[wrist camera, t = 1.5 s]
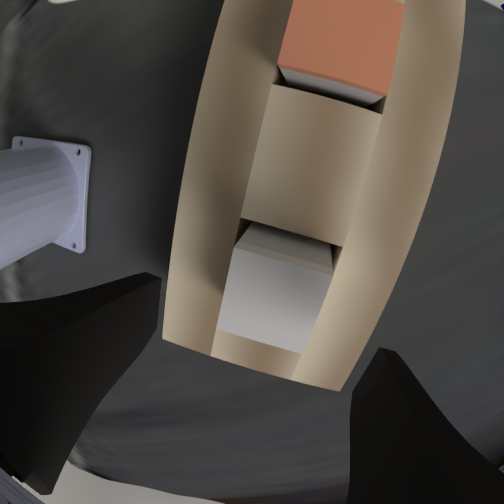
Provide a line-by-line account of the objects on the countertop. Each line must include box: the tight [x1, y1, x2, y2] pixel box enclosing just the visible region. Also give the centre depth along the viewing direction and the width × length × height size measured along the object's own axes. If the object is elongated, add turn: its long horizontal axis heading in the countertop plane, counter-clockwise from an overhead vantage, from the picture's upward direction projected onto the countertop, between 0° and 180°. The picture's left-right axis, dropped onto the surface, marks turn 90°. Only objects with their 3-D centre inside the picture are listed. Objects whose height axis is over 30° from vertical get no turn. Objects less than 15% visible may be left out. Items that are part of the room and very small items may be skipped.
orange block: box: [277, 0, 405, 108], centre depth 10 cm, size 4×4×5 cm
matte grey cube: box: [216, 221, 333, 354], centre depth 14 cm, size 4×4×5 cm
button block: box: [162, 0, 466, 392], centre depth 14 cm, size 10×21×5 cm, turn 168°
